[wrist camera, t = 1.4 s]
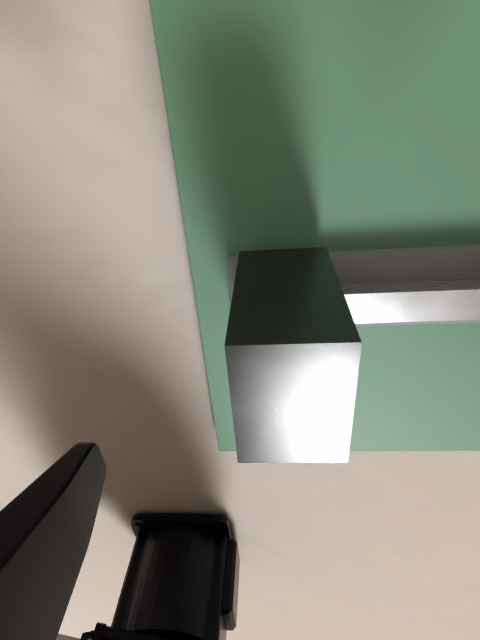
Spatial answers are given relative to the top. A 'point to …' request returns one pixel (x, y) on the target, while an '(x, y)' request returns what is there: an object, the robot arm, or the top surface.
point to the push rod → (312, 348)
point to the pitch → (336, 180)
